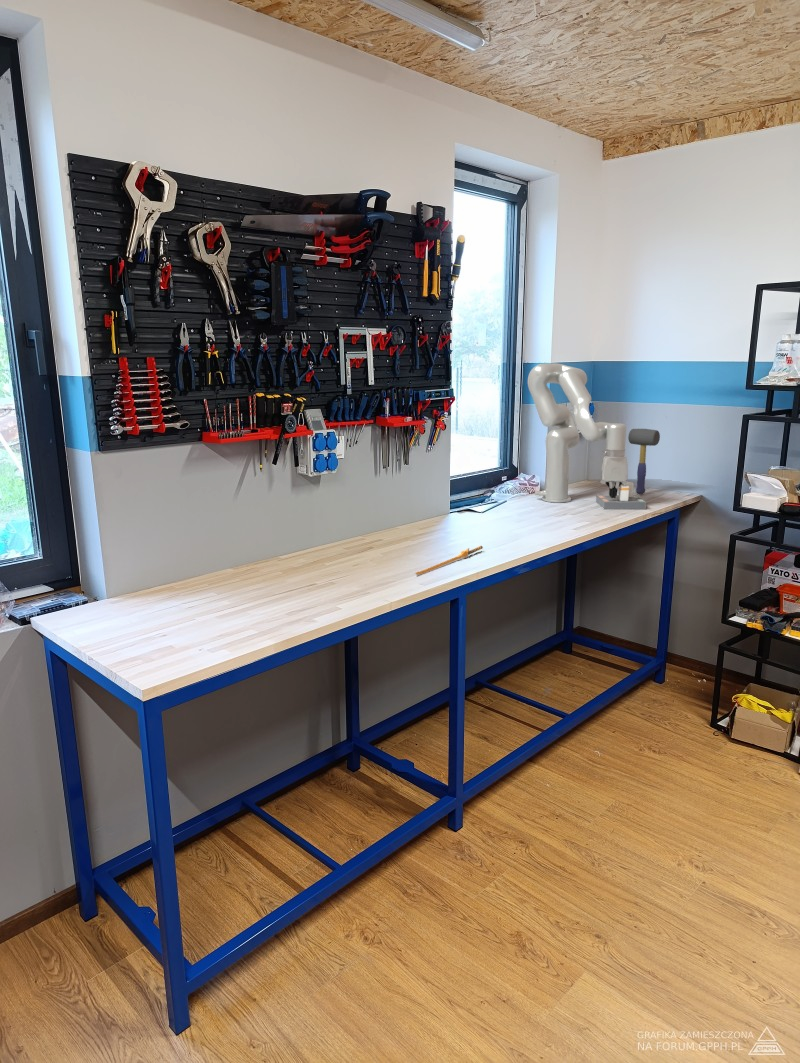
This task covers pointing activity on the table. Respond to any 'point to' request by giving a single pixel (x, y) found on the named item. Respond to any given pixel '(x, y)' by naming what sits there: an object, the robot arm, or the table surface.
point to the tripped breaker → (623, 492)
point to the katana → (459, 557)
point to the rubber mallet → (643, 452)
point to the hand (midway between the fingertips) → (612, 497)
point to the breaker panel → (615, 503)
